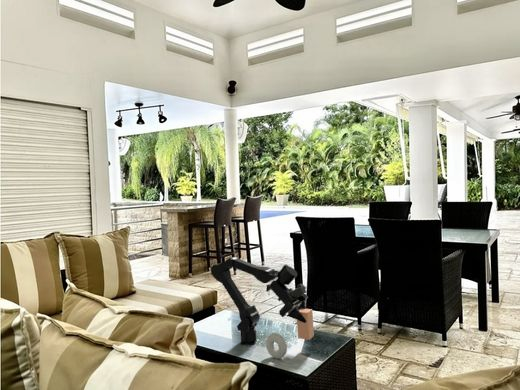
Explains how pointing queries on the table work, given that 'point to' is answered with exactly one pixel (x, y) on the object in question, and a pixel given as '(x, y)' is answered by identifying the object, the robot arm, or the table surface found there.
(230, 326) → the table surface
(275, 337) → the donut
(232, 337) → the table surface
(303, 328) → the post
